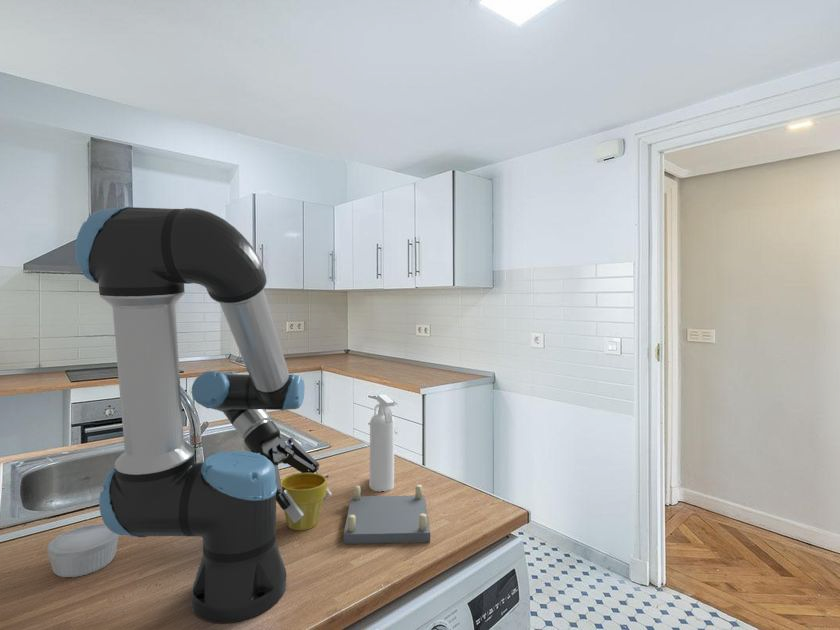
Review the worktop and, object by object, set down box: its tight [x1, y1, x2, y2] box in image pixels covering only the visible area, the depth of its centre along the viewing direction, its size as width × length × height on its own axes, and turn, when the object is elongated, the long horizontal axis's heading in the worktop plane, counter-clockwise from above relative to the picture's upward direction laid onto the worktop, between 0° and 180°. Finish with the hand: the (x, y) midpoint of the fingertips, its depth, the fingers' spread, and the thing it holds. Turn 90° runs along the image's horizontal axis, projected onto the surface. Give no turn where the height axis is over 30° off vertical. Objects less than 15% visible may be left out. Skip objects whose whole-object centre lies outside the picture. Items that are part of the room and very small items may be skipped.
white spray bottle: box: [369, 393, 396, 493], centre depth 123 cm, size 7×12×25 cm, turn 25°
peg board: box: [343, 484, 431, 545], centre depth 104 cm, size 18×18×5 cm
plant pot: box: [280, 472, 328, 531], centre depth 103 cm, size 10×10×10 cm
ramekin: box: [46, 522, 121, 578], centre depth 87 cm, size 11×11×5 cm
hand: (314, 508), depth 102 cm, fingers closed on plant pot, 10 cm apart
